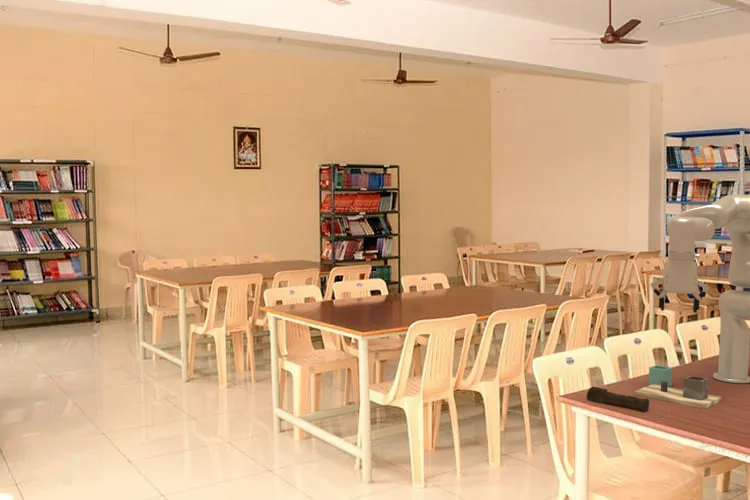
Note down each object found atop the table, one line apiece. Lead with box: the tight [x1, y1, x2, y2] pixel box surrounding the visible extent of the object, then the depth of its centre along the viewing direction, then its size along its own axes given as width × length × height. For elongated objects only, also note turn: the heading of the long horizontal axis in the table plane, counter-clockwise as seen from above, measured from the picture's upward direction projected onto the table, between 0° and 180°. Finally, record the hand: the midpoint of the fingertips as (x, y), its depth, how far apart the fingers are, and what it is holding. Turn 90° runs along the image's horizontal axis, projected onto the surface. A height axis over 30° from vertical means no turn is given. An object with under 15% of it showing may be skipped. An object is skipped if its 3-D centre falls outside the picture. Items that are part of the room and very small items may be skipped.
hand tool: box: [586, 386, 650, 413], centre depth 229 cm, size 19×4×5 cm, turn 48°
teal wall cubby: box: [648, 364, 673, 387], centre depth 255 cm, size 6×6×6 cm
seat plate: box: [634, 375, 723, 410], centre depth 239 cm, size 14×22×7 cm, turn 46°
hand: (678, 311), depth 237 cm, fingers open, 9 cm apart
